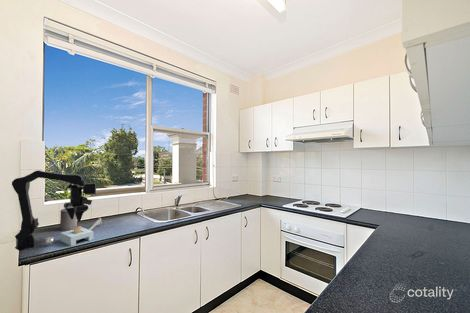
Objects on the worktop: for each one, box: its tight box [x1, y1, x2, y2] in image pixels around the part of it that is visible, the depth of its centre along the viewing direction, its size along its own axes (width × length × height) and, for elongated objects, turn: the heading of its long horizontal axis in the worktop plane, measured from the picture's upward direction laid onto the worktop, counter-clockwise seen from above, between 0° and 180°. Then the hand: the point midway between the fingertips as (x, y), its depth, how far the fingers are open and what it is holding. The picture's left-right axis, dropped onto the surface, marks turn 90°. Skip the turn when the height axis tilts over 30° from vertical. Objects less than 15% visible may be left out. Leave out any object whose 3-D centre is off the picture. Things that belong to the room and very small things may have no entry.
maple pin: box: [72, 225, 83, 242], centre depth 133 cm, size 4×4×8 cm
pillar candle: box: [59, 208, 78, 232], centre depth 155 cm, size 10×10×15 cm
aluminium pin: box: [44, 236, 55, 247], centre depth 126 cm, size 4×4×4 cm
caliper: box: [87, 217, 102, 231], centre depth 154 cm, size 20×1×6 cm, turn 7°
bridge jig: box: [60, 227, 95, 247], centre depth 133 cm, size 12×14×5 cm
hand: (75, 220), depth 133 cm, fingers open, 9 cm apart
